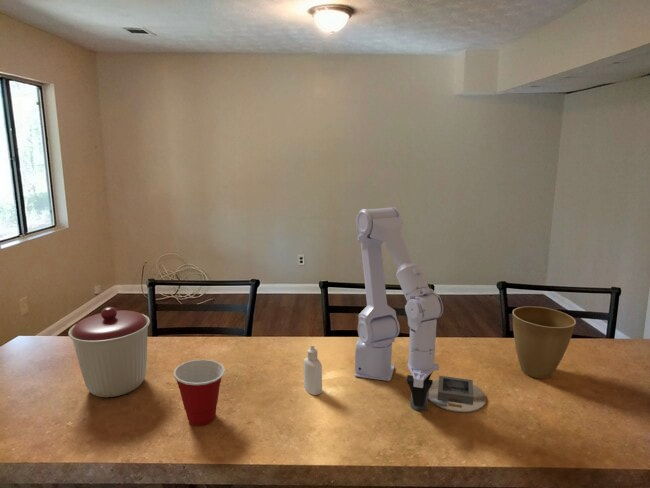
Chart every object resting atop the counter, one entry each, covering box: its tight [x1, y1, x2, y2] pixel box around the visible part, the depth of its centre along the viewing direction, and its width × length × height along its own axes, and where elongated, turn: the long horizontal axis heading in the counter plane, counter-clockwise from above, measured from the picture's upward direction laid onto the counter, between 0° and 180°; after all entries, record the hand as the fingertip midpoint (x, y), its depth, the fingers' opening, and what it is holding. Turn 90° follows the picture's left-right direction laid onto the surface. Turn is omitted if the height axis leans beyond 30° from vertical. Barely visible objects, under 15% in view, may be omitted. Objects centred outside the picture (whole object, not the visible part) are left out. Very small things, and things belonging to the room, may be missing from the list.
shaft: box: [410, 390, 429, 412], centre depth 104 cm, size 4×4×6 cm
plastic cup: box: [173, 359, 226, 427], centre depth 99 cm, size 11×11×12 cm
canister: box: [67, 306, 151, 398], centre depth 111 cm, size 18×18×21 cm
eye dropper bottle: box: [303, 344, 323, 396], centre depth 111 cm, size 4×6×12 cm
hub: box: [428, 375, 487, 413], centre depth 109 cm, size 14×14×3 cm
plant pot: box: [512, 306, 577, 380], centre depth 119 cm, size 15×15×16 cm
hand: (419, 400), depth 104 cm, fingers closed on shaft, 4 cm apart
